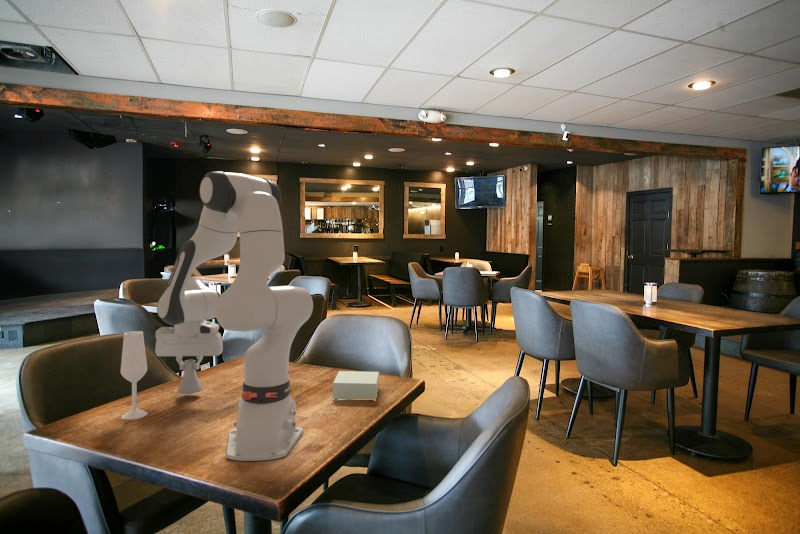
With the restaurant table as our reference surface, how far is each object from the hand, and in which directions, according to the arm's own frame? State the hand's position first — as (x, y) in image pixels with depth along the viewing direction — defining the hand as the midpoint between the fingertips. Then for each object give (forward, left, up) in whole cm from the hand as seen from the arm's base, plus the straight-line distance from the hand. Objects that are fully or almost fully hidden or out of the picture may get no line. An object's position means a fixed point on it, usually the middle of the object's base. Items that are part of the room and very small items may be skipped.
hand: (189, 369), depth 151 cm
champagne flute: (-16, +10, -9) cm, 21 cm away
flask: (0, 0, -7) cm, 7 cm away
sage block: (0, -54, -9) cm, 55 cm away
